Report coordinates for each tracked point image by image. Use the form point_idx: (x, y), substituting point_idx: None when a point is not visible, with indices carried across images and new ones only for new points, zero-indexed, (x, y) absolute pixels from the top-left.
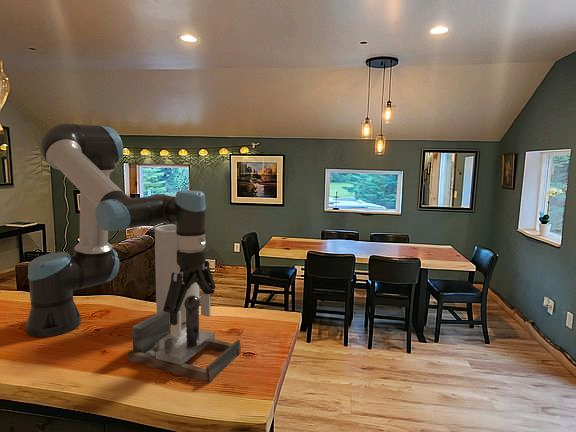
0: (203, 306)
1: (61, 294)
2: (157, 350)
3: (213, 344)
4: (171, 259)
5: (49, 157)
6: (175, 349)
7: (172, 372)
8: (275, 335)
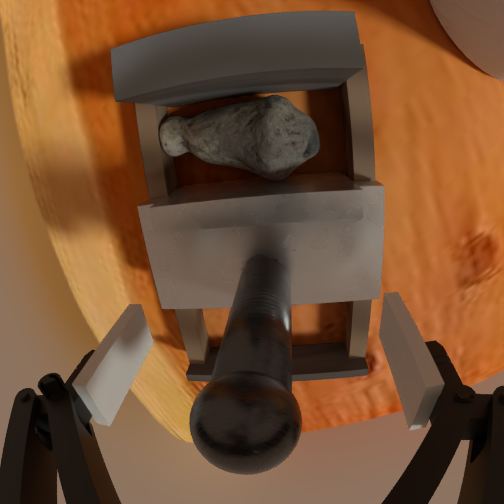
0: (396, 341)
1: None
2: (194, 153)
3: None
4: None
5: None
6: (193, 254)
7: None
8: (470, 360)
